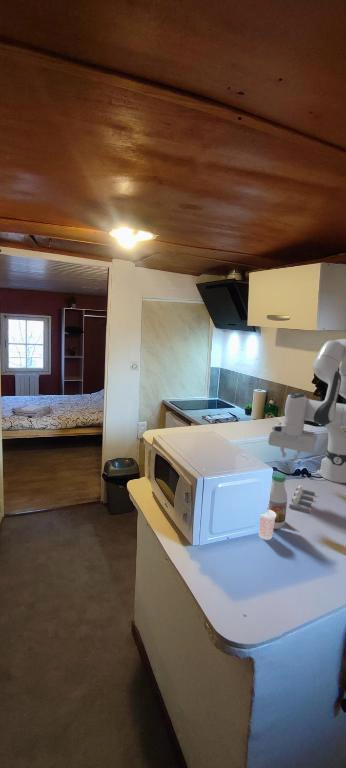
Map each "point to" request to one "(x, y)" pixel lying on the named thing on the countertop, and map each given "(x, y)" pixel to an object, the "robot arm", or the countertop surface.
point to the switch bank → (303, 501)
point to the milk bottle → (278, 500)
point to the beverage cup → (267, 524)
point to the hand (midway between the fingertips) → (289, 458)
